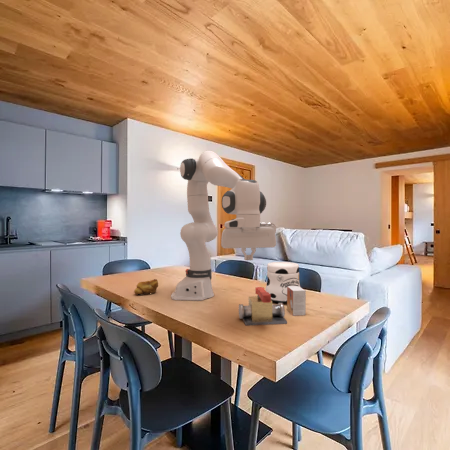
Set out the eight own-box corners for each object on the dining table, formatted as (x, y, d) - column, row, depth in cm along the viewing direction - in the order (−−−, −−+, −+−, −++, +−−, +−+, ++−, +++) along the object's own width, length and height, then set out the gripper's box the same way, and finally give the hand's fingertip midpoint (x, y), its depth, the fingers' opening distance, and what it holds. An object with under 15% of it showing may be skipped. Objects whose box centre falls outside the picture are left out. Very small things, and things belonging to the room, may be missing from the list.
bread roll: (136, 297, 146) (136, 282, 146) (131, 293, 154) (131, 279, 154) (159, 293, 153) (159, 279, 153) (153, 290, 161) (153, 276, 161)
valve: (242, 325, 105) (241, 299, 105) (237, 314, 117) (237, 291, 117) (287, 323, 107) (287, 297, 106) (278, 313, 118) (278, 290, 118)
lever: (254, 292, 114) (254, 286, 114) (263, 292, 114) (263, 286, 114) (262, 302, 100) (262, 295, 100) (271, 302, 100) (271, 295, 100)
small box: (286, 309, 123) (286, 286, 123) (299, 309, 124) (299, 285, 124) (292, 315, 115) (292, 290, 115) (305, 315, 116) (305, 290, 116)
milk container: (294, 307, 127) (294, 268, 126) (259, 302, 136) (259, 265, 135) (305, 298, 141) (305, 263, 141) (273, 294, 150) (272, 260, 150)
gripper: (273, 222, 107) (273, 258, 107) (220, 222, 105) (220, 259, 105) (278, 222, 101) (278, 260, 101) (221, 222, 99) (222, 261, 99)
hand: (248, 260), depth 103 cm, fingers closed
